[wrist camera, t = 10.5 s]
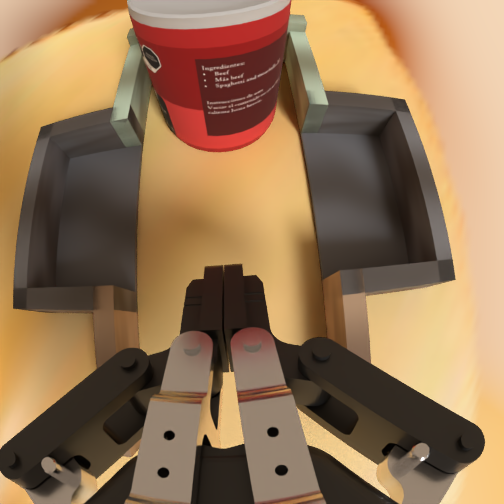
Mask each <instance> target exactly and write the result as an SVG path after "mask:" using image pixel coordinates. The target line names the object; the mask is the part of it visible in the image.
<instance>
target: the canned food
mask: <svg viewBox="0 0 504 504" xmlns="http://www.w3.org/2000/svg"><path fill="white" fill-rule="evenodd" d="M127 3H128V10H129V15H130V18H131V21H132V24H133V29H134V32H135V35H136V38H137V41H138V44H139V47H140V50H141V53H142V56H143V59H144V62H145V65H146V67H147V70H148V73H149V76H150V79H151V82H152V84H153V87H154V90H155V93H156V96H157V98H158V101H159V104H160V107H161V110H162V112H163V115H164V118H165V120H166V123H167V125H168V126H169V128H170V130H171V131H172V132H173V133H174V134H175V135H176V136H177V137H178V138H179V139H180V140H181V141H183V142H184V143H186V144H187V145H189V146H191V147H194V148H196V149H199V150H204V151H208V152H227V151H233V150H237V149H241V148H243V147H245V146H248V145H250V144H252V143H253V142H255V141H256V140H258V139H259V138H260V137H261V136H262V135H263V134H264V133H265V131H266V130H267V129H268V127H269V126H270V124H271V122H272V121H273V118H274V115H275V110H276V103H277V97H278V90H279V84H280V77H281V70H282V64H283V57H284V50H285V44H286V37H287V30H288V23H289V17H290V6H291V0H127Z"/></svg>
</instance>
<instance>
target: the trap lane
mask: <svg viewBox="0 0 504 504" xmlns="http://www.w3.org/2000/svg"><path fill="white" fill-rule="evenodd" d="M306 25H307V22H306V19H305V17H304V15H290V17H289V23H288V30H287V37H286V44H285V50H284V57H283V62H285V64H286V69H287V73H288V77H289V82H290V86H291V91H292V96H293V100H294V105H295V110H296V115H297V120H298V125H299V130H300V135H301V141H302V146H303V152H304V157H305V163H306V169H307V175H308V181H309V187H310V194H311V200H312V207H313V214H314V221H315V228H316V235H317V243H318V251H319V259H320V268H321V277H322V286H323V296H324V306H325V317H326V329H327V338H328V339H331V340H333V341H335V342H336V343H338V344H340V345H341V346H343V347H345V348H346V349H348V350H349V351H351V352H353V353H354V354H356V355H357V356H359V357H361V358H362V359H364V360H366V361H367V362H369V363H371V356H370V340H369V327H368V315H367V305H366V296H368V295H376V294H383V293H391V292H398V291H405V290H412V289H418V288H425V287H429V286H433V285H437V284H441V283H445V282H449V281H452V280H455V273H454V266H453V260H452V254H451V249H450V243H449V238H448V234H447V229H446V224H445V220H444V216H443V211H442V207H441V203H440V200H439V196H438V192H437V189H436V185H435V182H434V178H433V175H432V172H431V168H430V165H429V162H428V159H427V156H426V153H425V150H424V147H423V144H422V142H421V139H420V136H419V133H418V131H417V128H416V126H415V123H414V120H413V118H412V116H411V113H410V111H409V108H408V106H407V104H406V101H405V100H404V99H398V98H391V97H384V96H376V95H367V94H358V93H347V92H334V91H324V87H323V84H322V81H321V78H320V75H319V71H318V68H317V65H316V62H315V59H314V56H313V53H312V50H311V47H310V45H309V42H308V39H307V36H306V34H305V30H306ZM127 38H128V41H129V44H130V48H129V51H128V54H127V58H126V61H125V64H124V68H123V71H122V75H121V78H120V82H119V86H118V90H117V94H116V98H115V102H114V106H113V108H108V109H104V110H100V111H96V112H91V113H88V114H84V115H80V116H76V117H73V118H69V119H65V120H62V121H59V122H55V123H52V124H49V125H46V126H43V127H41V129H40V132H39V136H38V139H37V142H36V146H35V149H34V153H33V157H32V161H31V165H30V169H29V173H28V177H27V182H26V187H25V192H24V197H23V202H22V208H21V214H20V220H19V228H18V235H17V244H16V254H15V267H14V289H13V309H21V310H29V311H37V312H51V313H93V320H94V339H95V353H96V364H97V369H98V368H99V367H100V366H101V365H103V364H104V363H105V362H106V361H108V360H109V359H110V358H111V357H113V356H114V355H115V354H116V353H118V352H119V351H121V350H123V349H126V348H138V349H140V347H139V332H138V313H137V219H138V199H139V185H140V172H141V161H142V151H143V142H144V134H145V126H146V118H147V111H148V105H149V98H150V92H151V86H152V82H151V79H150V76H149V73H148V70H147V67H146V65H145V62H144V59H143V56H142V53H141V50H140V47H139V44H138V41H137V38H136V35H135V32H134V29H133V28H132V29H130V30H129V33H128V36H127ZM140 442H141V439H140V440H139V441H138V442H137V443H136V444H135V445H134V446H133V447H131V448H130V449H129V450H128V451H127V452H126V453H125V454H124V455H123V456H126V457H132V456H133V455H134V454H135V453H136V451H137V450H138V449H139V447H140Z"/></svg>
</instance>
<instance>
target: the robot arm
mask: <svg viewBox="0 0 504 504" xmlns="http://www.w3.org/2000/svg"><path fill="white" fill-rule="evenodd" d="M229 363H230V369H231V372H234V375H235V382H236V389H237V397H238V404H239V411H240V417H241V424H242V431H243V437H244V443H245V444H242V445H238V446H234V447H231V448H227V449H221V443H220V421H221V408H222V394H223V388H222V385H223V372H229ZM297 408H298V409H299V410H301V411H302V412H303V413H305V414H306V415H307V416H309V417H310V418H311V419H313V420H314V421H315V422H317V423H318V424H319V425H321V426H322V427H323V428H325V429H326V430H328V431H329V432H330V433H332V434H333V435H335V436H336V437H337V438H339V439H340V440H342V441H343V442H345V443H346V444H347V445H349V446H350V447H352V448H353V449H355V450H356V451H358V452H359V453H361V454H362V455H364V456H365V457H367V458H368V459H370V460H371V461H373V462H374V463H376V464H377V465H378V467H377V473H376V474H377V479H378V481H379V483H380V484H381V485H382V486H383V487H384V488H385V489H386V490H387V491H388V493H389V495H390V497H388V496H386V495H385V494H383V493H382V492H381V491H379V490H378V489H376V488H375V487H373V486H372V485H370V484H369V483H368V482H366V481H365V480H363V479H362V478H360V477H359V476H358V475H356V474H355V473H354V472H352V471H351V470H350V469H348V468H347V467H346V466H344V465H343V464H342V463H340V462H339V461H338V460H336V459H335V458H334V457H332V456H331V455H330V454H328V453H326V452H324V451H322V450H320V449H318V448H315V447H312V446H309V445H307V443H306V439H305V436H304V432H303V429H302V425H301V422H300V418H299V415H298V411H297ZM140 439H141V442H140V447H139V452H138V455H137V456H135V457H134V458H132V459H131V460H130V461H128V462H127V463H126V464H125V465H124V466H123V467H122V468H121V469H120V470H119V471H118V472H117V473H116V474H115V475H114V476H113V477H112V478H111V479H110V480H109V481H108V482H107V483H105V484H104V485H103V486H102V487H101V488H100V489H99V490H97V481H96V479H97V478H98V477H99V476H100V475H101V474H103V473H104V472H105V471H106V470H107V469H108V468H109V467H110V466H112V465H113V464H114V463H115V462H116V461H117V460H118V459H119V458H121V457H122V456H123V455H124V454H125V453H126V452H127V451H128V450H129V449H130V448H131V447H133V446H134V445H135V444H136V443H137V442H138V441H139V440H140ZM484 446H485V439H484V435H483V433H482V431H481V429H480V428H479V427H478V426H477V425H475V424H474V423H472V422H470V421H468V420H466V419H465V418H463V417H461V416H459V415H458V414H456V413H454V412H452V411H450V410H449V409H447V408H445V407H443V406H442V405H440V404H438V403H436V402H435V401H433V400H431V399H429V398H428V397H426V396H424V395H423V394H421V393H419V392H417V391H416V390H414V389H412V388H411V387H409V386H407V385H406V384H404V383H402V382H401V381H399V380H397V379H395V378H394V377H392V376H390V375H389V374H387V373H385V372H384V371H382V370H380V369H379V368H377V367H376V366H374V365H372V364H371V363H369V362H367V361H366V360H364V359H362V358H361V357H359V356H357V355H356V354H354V353H353V352H351V351H349V350H348V349H346V348H345V347H343V346H341V345H340V344H338V343H336V342H335V341H333V340H331V339H328V338H323V337H317V338H312V339H309V340H307V341H306V342H304V343H303V344H302V346H298V345H292V344H287V343H284V342H282V341H280V340H278V339H277V338H276V337H275V336H274V335H273V334H272V332H271V330H270V325H269V318H268V312H267V306H266V301H265V294H264V287H263V282H262V281H261V280H260V279H259V278H258V277H257V276H256V275H252V276H243V268H242V264H232V265H224V268H223V265H219V266H205V271H204V279H196V280H192V282H191V283H190V284H189V286H188V287H187V289H186V296H185V302H184V309H183V315H182V322H181V329H180V335H179V336H177V337H176V338H175V339H174V341H173V342H172V345H171V347H170V348H169V349H167V350H165V351H163V352H159V353H156V354H152V355H149V356H147V354H146V353H145V352H144V351H143V350H141V349H138V348H126V349H123V350H121V351H119V352H118V353H116V354H115V355H114V356H113V357H111V358H110V359H109V360H108V361H106V362H105V363H104V364H103V365H101V366H100V367H99V368H98V369H96V370H95V371H94V372H93V373H92V374H90V375H89V376H88V377H87V378H85V379H84V380H83V381H82V382H80V383H79V384H78V385H77V386H75V387H74V388H73V389H72V390H71V391H69V392H68V393H67V394H66V395H64V396H63V397H62V398H61V399H59V400H58V401H57V402H56V403H55V404H53V405H52V406H51V407H50V408H48V409H47V410H46V411H45V412H44V413H42V414H41V415H40V416H39V417H37V418H36V419H35V420H34V421H33V422H31V423H30V424H29V425H28V426H26V427H25V428H24V429H23V430H22V431H20V432H19V433H18V434H17V435H15V436H14V437H13V438H12V439H11V440H9V441H8V442H7V443H6V444H4V445H3V446H2V448H1V449H0V471H1V473H2V474H3V475H4V476H5V477H6V478H8V479H10V480H11V481H13V482H15V483H16V484H18V485H19V486H20V487H22V488H23V489H25V490H26V492H27V493H28V495H29V496H30V498H31V500H32V501H33V503H34V504H439V503H440V502H441V500H442V499H443V497H444V495H445V494H446V492H447V490H448V489H449V487H450V485H451V484H452V482H453V480H454V478H455V477H456V475H457V473H458V472H459V471H461V470H462V469H464V468H465V467H467V466H468V465H470V464H471V463H472V462H474V461H475V460H476V459H478V458H479V457H480V455H481V454H482V452H483V449H484Z"/></svg>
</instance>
